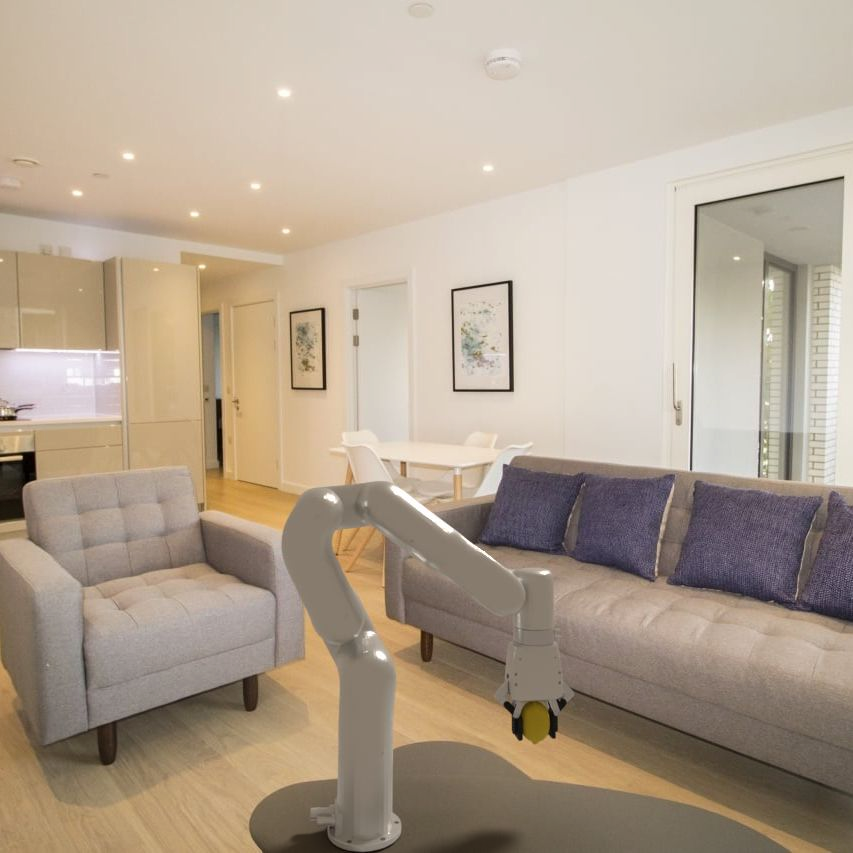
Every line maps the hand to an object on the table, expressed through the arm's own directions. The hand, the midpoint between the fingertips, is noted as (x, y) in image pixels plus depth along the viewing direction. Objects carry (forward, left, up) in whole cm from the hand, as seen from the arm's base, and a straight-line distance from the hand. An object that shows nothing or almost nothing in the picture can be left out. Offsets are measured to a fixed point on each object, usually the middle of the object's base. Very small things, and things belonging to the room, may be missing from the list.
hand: (534, 735), depth 117 cm
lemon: (0, 0, -2) cm, 2 cm away
